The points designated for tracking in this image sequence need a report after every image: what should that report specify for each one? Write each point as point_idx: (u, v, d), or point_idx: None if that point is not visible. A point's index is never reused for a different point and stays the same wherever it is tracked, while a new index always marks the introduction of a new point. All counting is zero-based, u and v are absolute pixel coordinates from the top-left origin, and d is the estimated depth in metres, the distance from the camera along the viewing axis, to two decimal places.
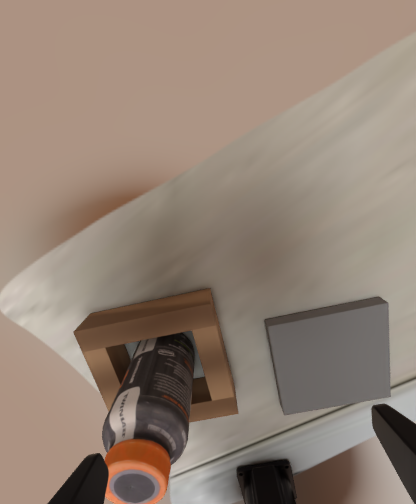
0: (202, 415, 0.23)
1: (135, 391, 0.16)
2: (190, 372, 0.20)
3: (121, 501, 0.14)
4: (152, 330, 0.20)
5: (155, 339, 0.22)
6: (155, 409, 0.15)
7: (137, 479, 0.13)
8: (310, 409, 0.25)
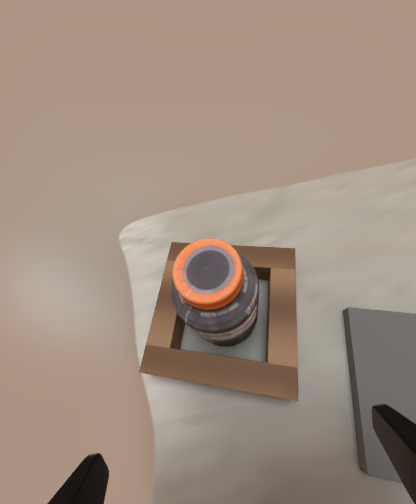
0: (248, 383, 0.17)
1: None
2: None
3: (185, 282, 0.13)
4: None
5: None
6: None
7: (218, 256, 0.13)
8: None
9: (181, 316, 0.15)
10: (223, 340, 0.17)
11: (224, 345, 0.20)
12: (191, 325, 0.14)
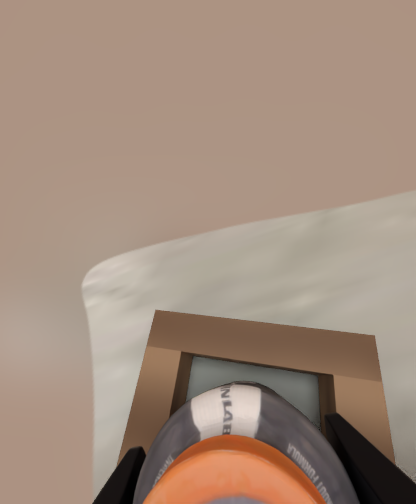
0: None
1: (248, 386, 0.08)
2: None
3: None
4: (265, 349, 0.12)
5: (253, 382, 0.13)
6: (304, 421, 0.06)
7: None
8: None
9: None
10: None
11: None
12: None
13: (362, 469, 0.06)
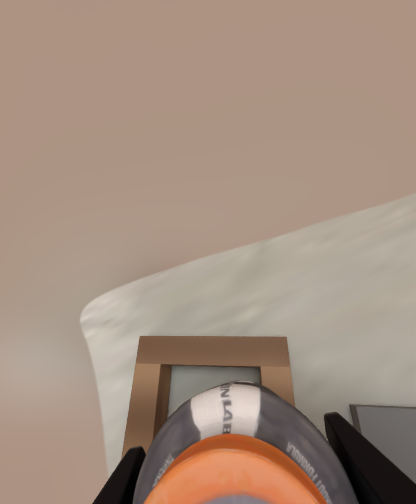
0: None
1: (247, 385, 0.08)
2: None
3: None
4: (217, 355, 0.18)
5: (251, 382, 0.13)
6: (303, 420, 0.06)
7: None
8: None
9: None
10: None
11: None
12: None
13: (362, 469, 0.06)
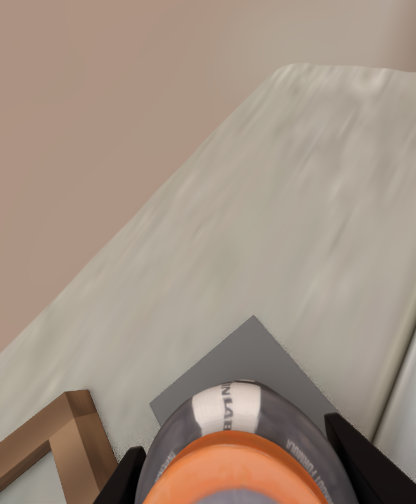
0: None
1: (248, 383, 0.08)
2: None
3: None
4: (4, 462, 0.17)
5: None
6: (303, 417, 0.07)
7: None
8: None
9: None
10: None
11: None
12: None
13: (362, 469, 0.06)
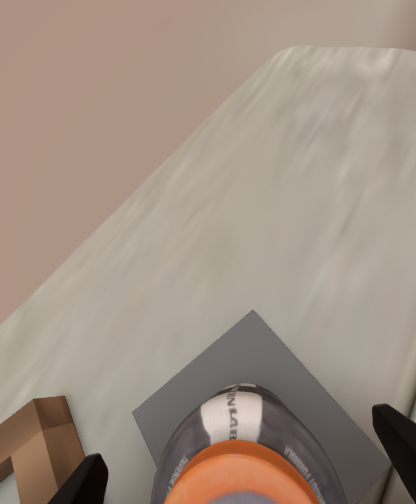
0: None
1: (250, 393, 0.09)
2: None
3: None
4: None
5: (253, 385, 0.14)
6: (299, 426, 0.07)
7: None
8: None
9: None
10: None
11: None
12: None
13: None
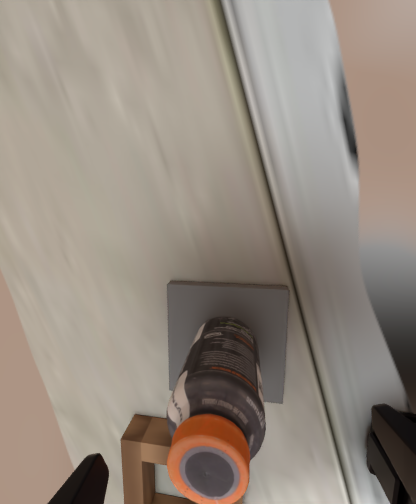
0: None
1: (183, 375, 0.15)
2: (247, 346, 0.18)
3: (205, 498, 0.11)
4: (136, 487, 0.24)
5: (201, 330, 0.20)
6: (204, 381, 0.13)
7: (204, 458, 0.11)
8: (282, 376, 0.22)
9: None
10: None
11: None
12: None
13: None
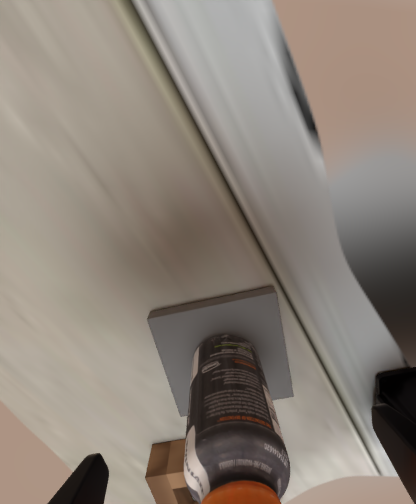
0: None
1: (191, 433, 0.13)
2: (249, 368, 0.17)
3: None
4: None
5: (197, 359, 0.19)
6: (215, 443, 0.12)
7: None
8: (287, 373, 0.21)
9: None
10: None
11: None
12: None
13: None
